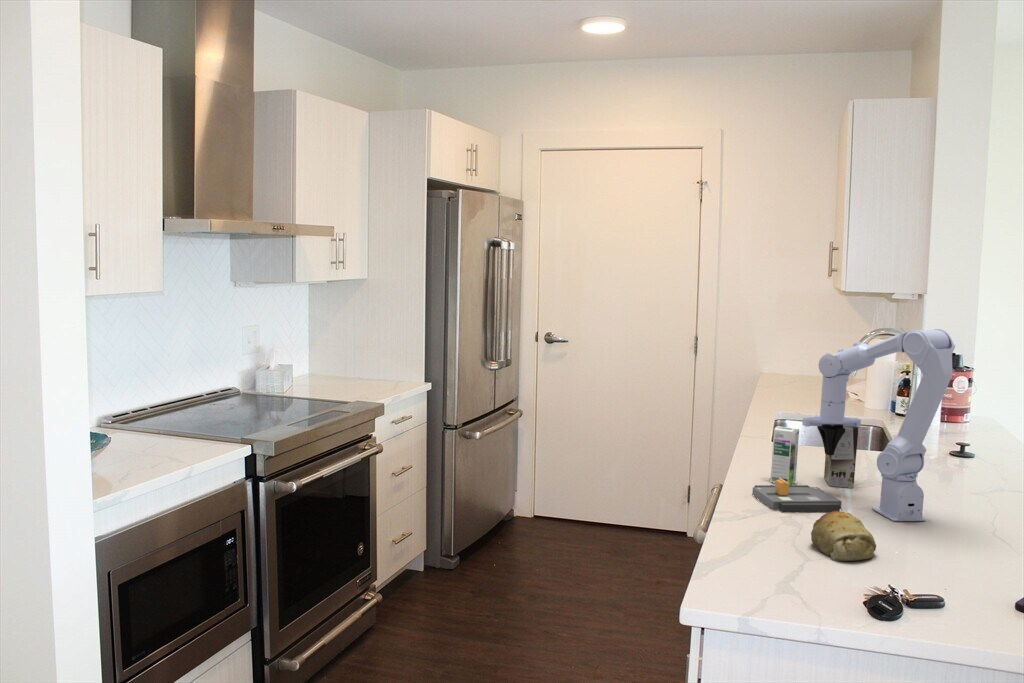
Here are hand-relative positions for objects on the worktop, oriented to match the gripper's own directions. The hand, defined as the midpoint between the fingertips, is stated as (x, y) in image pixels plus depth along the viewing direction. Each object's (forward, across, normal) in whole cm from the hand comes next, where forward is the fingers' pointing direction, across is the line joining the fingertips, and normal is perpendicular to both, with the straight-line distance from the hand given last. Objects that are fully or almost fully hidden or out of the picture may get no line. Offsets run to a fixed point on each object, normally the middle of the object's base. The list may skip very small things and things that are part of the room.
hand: (829, 454), depth 216 cm
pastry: (+10, +18, +41) cm, 46 cm away
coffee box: (+10, -8, -9) cm, 16 cm away
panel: (+10, +12, +8) cm, 17 cm away
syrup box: (+10, +7, -10) cm, 16 cm away
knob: (+8, +16, +8) cm, 19 cm away
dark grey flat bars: (+10, +12, +8) cm, 17 cm away
